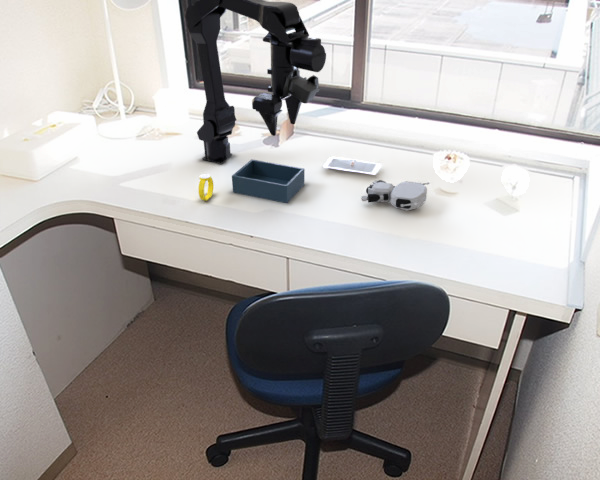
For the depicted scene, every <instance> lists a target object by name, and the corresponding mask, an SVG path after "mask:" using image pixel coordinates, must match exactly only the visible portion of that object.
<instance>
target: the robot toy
mask: <svg viewBox="0 0 600 480" xmlns="http://www.w3.org/2000/svg"><path fill="white" fill-rule="evenodd" d="M430 184H431V183H430V182H424V183H423V182H419V181H418V182H417V181H408V180H407V181H401V182H400V183H398V184H396V185H394V184H392V183H390V182H386V181H384V180H381V179H379V180H374V181H372V183H371V184H369V185H368V186H367V187H366V189H365V193H366V194H367V195H362V196H361V197H360V201H362V202H367V203H389V202H390V204H391V205H392V206H393V207H394V208H396V209H401V210H403V211H406V212H408V211H410V210H414V209H418V208H419V207H421V206H422V205H423V204H424V203H425V202H426V201H427V196H428V195H427V193H428V187H427V186H426V185H430Z"/></svg>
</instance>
